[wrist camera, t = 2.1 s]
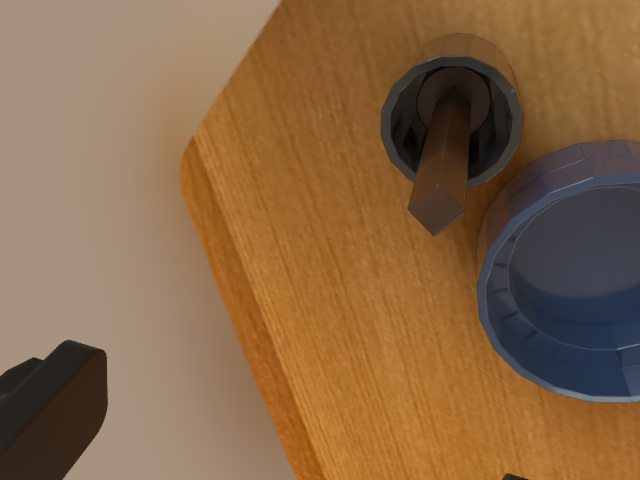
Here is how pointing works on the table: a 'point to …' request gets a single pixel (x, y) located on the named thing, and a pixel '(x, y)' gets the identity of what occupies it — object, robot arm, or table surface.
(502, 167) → the crock
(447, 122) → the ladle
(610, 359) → the mixing bowl
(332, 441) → the table surface
